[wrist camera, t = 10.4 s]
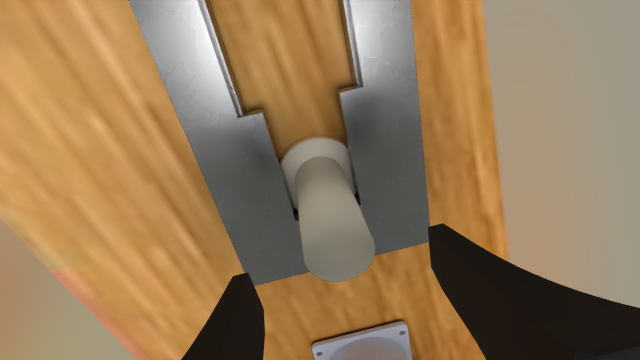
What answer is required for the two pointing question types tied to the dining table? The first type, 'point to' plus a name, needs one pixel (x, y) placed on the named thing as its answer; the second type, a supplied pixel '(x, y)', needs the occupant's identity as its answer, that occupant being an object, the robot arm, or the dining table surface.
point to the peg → (327, 208)
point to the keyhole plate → (256, 142)
